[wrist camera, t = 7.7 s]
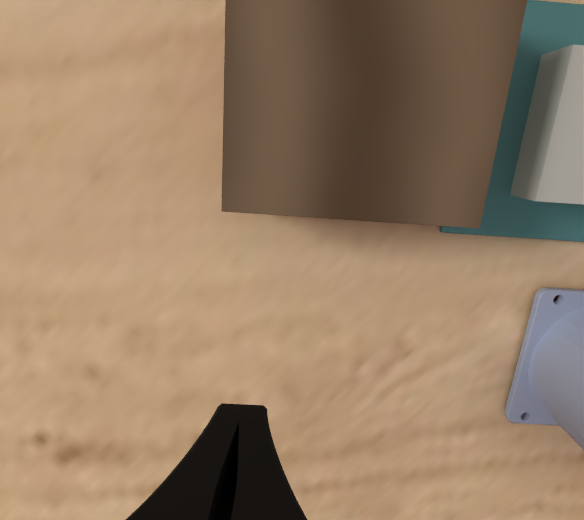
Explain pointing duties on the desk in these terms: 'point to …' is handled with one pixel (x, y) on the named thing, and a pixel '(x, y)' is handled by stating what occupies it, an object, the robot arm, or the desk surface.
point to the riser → (365, 107)
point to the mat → (499, 203)
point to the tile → (554, 132)
